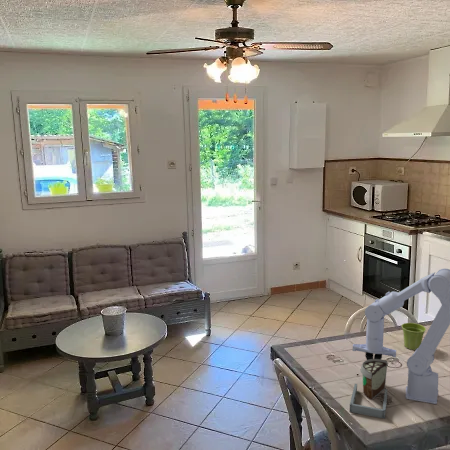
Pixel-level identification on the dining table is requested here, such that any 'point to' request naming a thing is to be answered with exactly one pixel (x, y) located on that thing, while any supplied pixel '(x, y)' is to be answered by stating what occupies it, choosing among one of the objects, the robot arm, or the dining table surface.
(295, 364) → the dining table surface
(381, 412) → the bay
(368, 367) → the food container
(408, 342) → the plant pot
